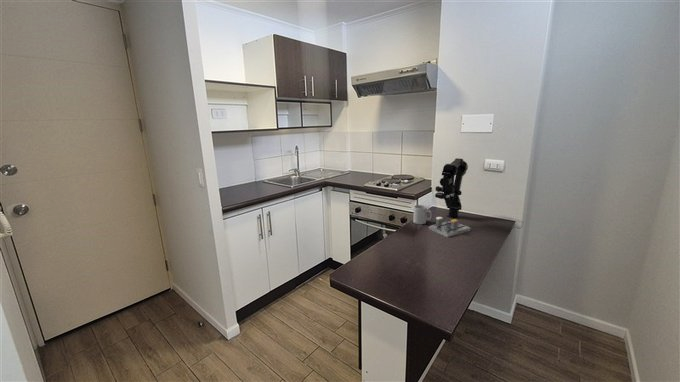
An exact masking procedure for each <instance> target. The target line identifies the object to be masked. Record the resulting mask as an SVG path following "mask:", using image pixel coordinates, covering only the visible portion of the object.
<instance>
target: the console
mask: <svg viewBox="0 0 680 382" xmlns="http://www.w3.org/2000/svg"><path fill="white" fill-rule="evenodd" d="M428 230H429V231H433V232H434V233H437V234H439V235H441V236H444V237H446V238H449V237H453V236H457V235H459V234H463V233H466V232H467V233H468V232H469V231H471V227H469V226H468V225H464V224H462V223H459V222H457V229H451V220H448V221H444V222H443V221H442V226H439V227H438V226H437V225H436V223H435V224H432V225H429V226H428Z"/></svg>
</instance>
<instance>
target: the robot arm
mask: <svg viewBox="0 0 680 382" xmlns="http://www.w3.org/2000/svg"><path fill="white" fill-rule="evenodd" d="M468 168H469V165H468V162H467V161H465V160H464V158H459V157H458V158H455V159H454V160H453V161H452V162H451V163H446V164H444V165H443V167H442V172H441V176H442V178H440V180H439V185H440V186H438V185H437V186H435V192H436V193H435V194H434V198H438V199H440V200H444V203H445V206H446V209H449V210H448V214H447V215H446V217H449V218H451V219H458V218H460V217H461V216H460V215H459V214H460V213H459V212H460V211H461V210H462V209H463V208H462V203H461V198H460V196H461V195H462V193H463V192H462V191H461V187H462V183H463V177H464V176H465V174H466V173H467V171H468Z"/></svg>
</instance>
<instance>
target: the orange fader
mask: <svg viewBox="0 0 680 382" xmlns="http://www.w3.org/2000/svg"><path fill="white" fill-rule="evenodd" d="M450 221H451V229H457V223H459V220H458V219H457V218H455V219H454V218H452V219H451V220H450Z"/></svg>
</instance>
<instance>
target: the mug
mask: <svg viewBox="0 0 680 382" xmlns="http://www.w3.org/2000/svg"><path fill="white" fill-rule="evenodd" d="M427 213H429V217H427ZM432 216H433V214H432V210H430V209H428V208H427V206H426V205H422V204H420V205H419V204H417V205H414V206H413V216H412V217H413V219H412V221H413V223H414V224H417V225H425V224H427V221H429V220H431V219H432Z"/></svg>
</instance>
